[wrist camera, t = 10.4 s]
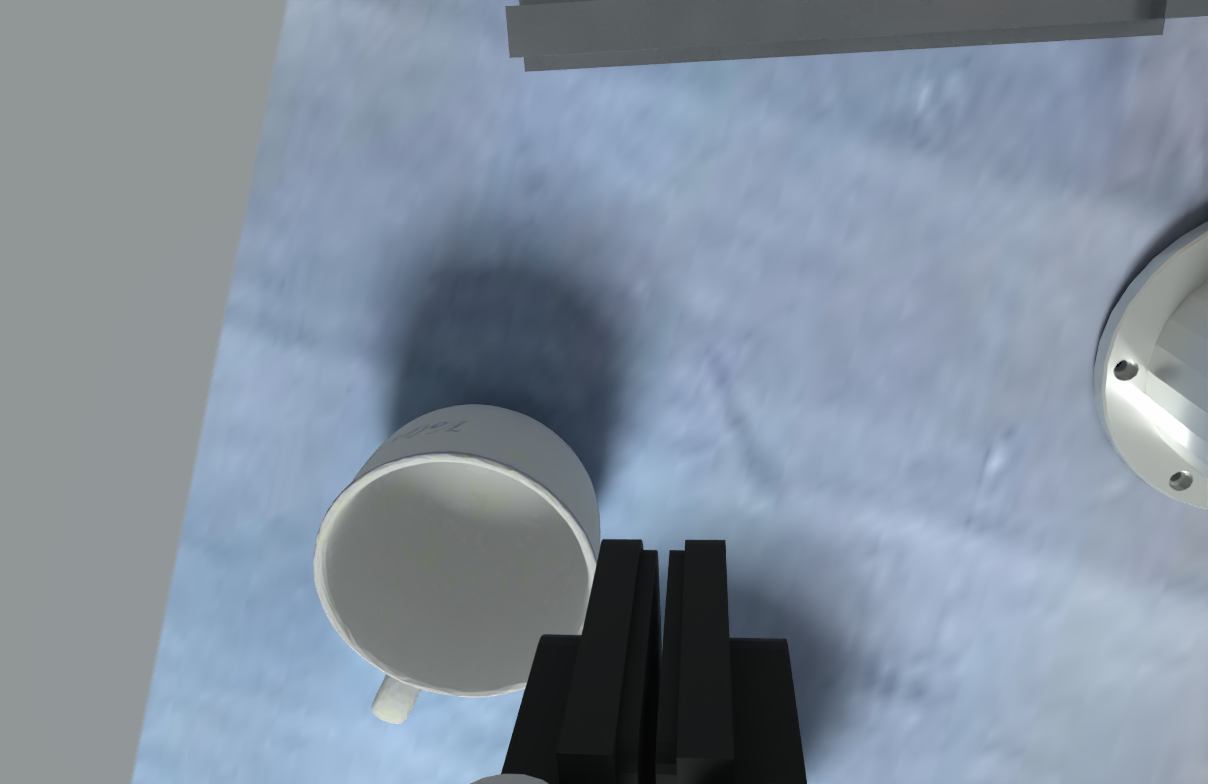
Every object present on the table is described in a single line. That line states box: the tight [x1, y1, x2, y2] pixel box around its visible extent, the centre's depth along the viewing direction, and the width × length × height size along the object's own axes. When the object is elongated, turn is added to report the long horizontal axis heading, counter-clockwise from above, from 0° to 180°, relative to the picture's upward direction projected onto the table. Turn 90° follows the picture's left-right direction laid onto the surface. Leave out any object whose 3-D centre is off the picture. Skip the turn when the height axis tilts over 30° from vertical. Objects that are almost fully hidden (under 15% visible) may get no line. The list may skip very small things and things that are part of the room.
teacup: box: [313, 404, 600, 724], centre depth 37 cm, size 14×11×8 cm
